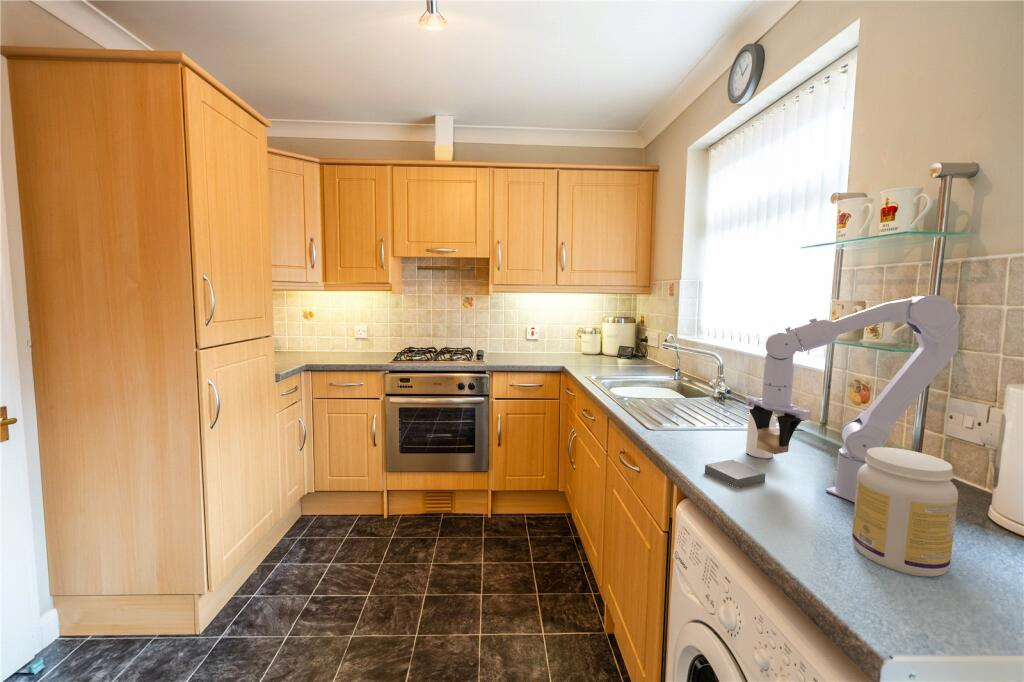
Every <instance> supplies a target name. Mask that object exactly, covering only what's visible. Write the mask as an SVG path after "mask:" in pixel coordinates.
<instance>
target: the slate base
mask: <svg viewBox="0 0 1024 682" xmlns="http://www.w3.org/2000/svg"><path fill="white" fill-rule="evenodd" d="M704 473H705V474H706V473H707V474H706V475H708V474H709V476H711V477H712V478H715V479H717V478H718V479H717V480H719V479H720V480H719V481H721V480H722V481H721V482H723V481H724V482H723V483H725V482H726V483H725V484H727V483H729V484H728V485H730V484H731V485H730V486H732V485H733V486H732V487H734V486H735V487H734V488H736V487H739V488H742V487H743V486H744V487H747V485H748V486H752V485H756V483H757V484H761V483H765V482H766V473H765V472H763V471H761V470H759V469H756V468H755V467H751V466H749V465H746V464H744V463H742V462H739V461H737V460H734V459H729V460H723V461H717V462H713V463H707V464H705V465H704Z"/></svg>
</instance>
